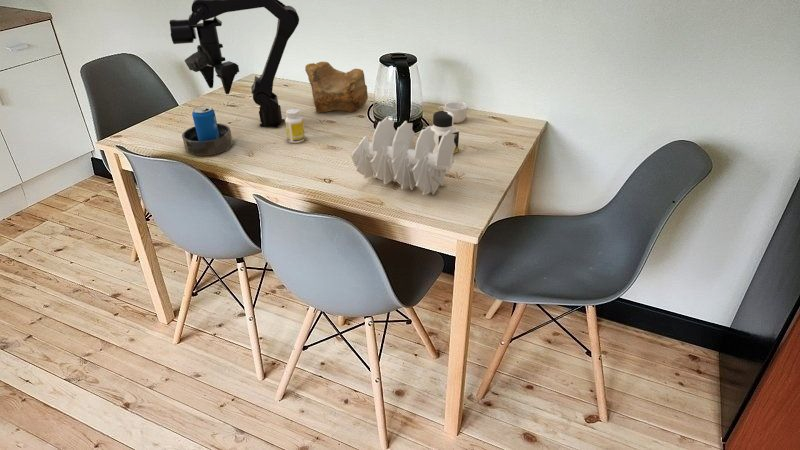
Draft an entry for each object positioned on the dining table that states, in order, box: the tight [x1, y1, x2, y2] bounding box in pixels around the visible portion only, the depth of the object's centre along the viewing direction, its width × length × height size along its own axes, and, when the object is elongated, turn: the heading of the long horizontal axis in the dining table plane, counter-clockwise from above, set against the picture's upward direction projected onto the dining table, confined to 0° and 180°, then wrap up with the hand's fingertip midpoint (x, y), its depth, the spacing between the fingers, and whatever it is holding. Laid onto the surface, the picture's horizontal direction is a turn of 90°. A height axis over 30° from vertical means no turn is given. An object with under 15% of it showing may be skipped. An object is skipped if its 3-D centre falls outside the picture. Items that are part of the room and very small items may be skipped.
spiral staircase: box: [350, 116, 456, 196], centre depth 141 cm, size 18×18×25 cm
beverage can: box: [191, 104, 220, 141], centre depth 163 cm, size 6×6×12 cm
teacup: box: [438, 101, 469, 124], centre depth 181 cm, size 10×8×5 cm
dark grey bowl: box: [181, 122, 234, 156], centre depth 166 cm, size 14×14×5 cm
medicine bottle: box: [430, 110, 460, 154], centre depth 159 cm, size 7×7×12 cm
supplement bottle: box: [284, 108, 306, 144], centre depth 168 cm, size 5×5×10 cm
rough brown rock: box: [304, 61, 369, 113], centre depth 189 cm, size 23×17×15 cm
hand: (219, 90), depth 172 cm, fingers open, 9 cm apart
